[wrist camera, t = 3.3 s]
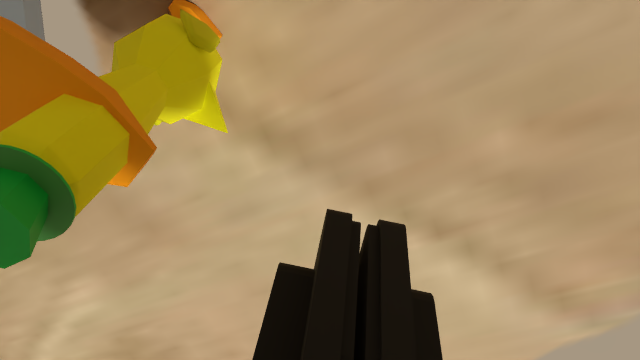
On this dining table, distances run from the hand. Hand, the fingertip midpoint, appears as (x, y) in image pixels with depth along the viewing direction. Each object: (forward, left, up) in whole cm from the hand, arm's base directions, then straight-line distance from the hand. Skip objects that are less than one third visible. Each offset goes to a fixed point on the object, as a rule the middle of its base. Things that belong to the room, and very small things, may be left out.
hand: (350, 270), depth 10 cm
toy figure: (-2, -7, -10) cm, 12 cm away
